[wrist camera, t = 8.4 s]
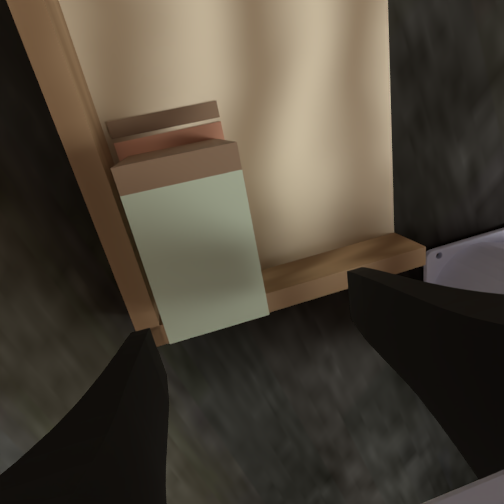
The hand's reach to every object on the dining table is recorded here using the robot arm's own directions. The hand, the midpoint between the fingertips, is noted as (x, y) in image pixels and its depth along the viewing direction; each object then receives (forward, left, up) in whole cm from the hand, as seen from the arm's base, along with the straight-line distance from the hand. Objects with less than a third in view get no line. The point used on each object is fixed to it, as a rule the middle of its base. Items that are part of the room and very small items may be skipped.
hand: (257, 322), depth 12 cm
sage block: (+1, -2, -9) cm, 9 cm away
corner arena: (-3, -5, -9) cm, 11 cm away
